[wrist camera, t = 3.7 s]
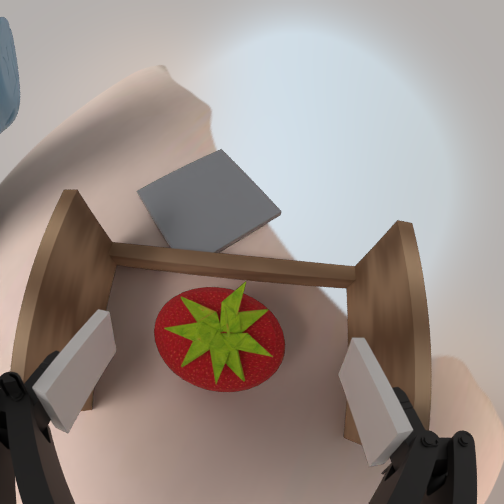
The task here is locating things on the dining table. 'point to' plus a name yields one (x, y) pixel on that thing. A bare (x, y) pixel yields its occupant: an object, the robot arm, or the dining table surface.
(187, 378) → the strawberry
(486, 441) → the dining table surface
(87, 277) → the wooden crossbar stand
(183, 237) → the pad
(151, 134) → the dining table surface
